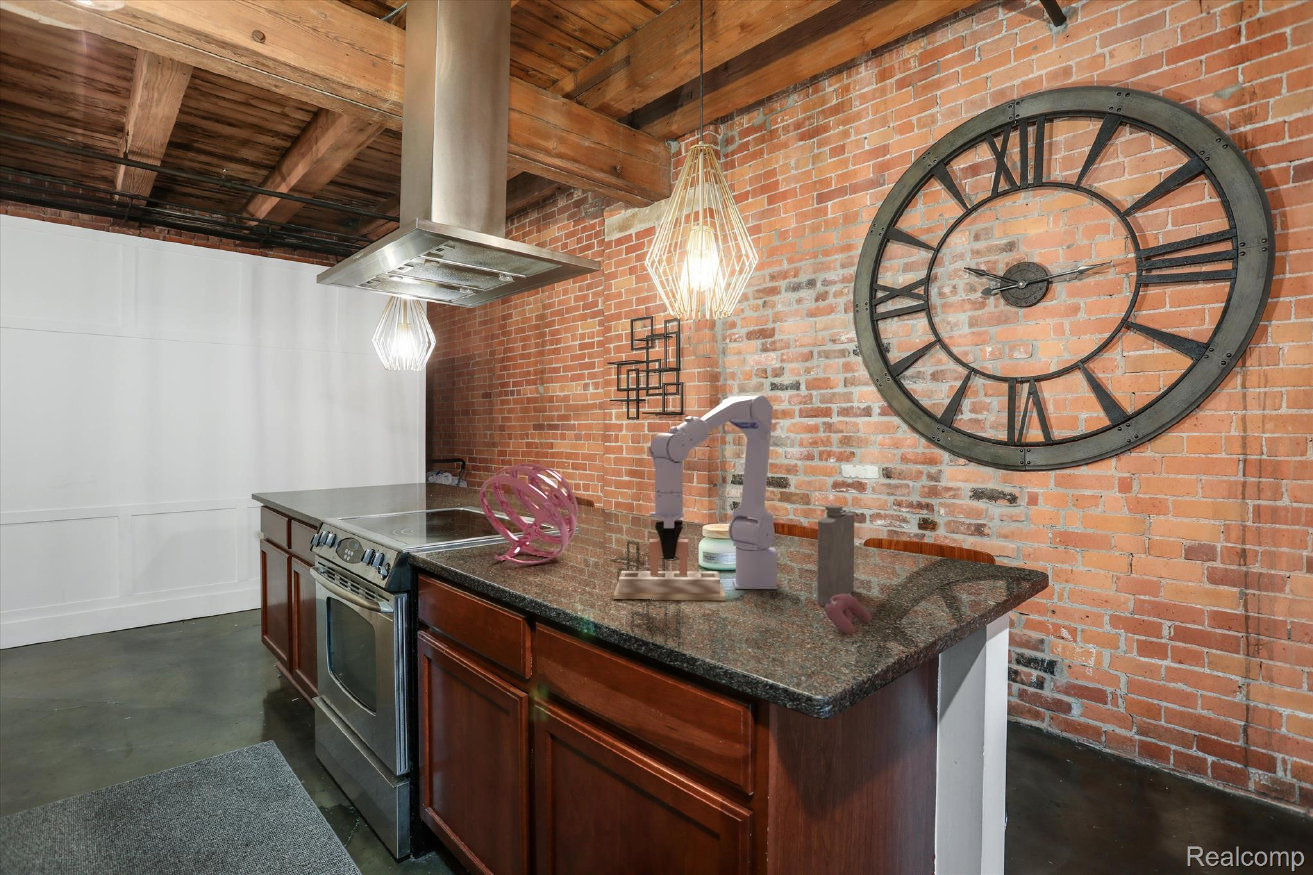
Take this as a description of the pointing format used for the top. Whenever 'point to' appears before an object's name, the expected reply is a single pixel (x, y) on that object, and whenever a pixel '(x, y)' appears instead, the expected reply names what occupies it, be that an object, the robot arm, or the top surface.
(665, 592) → the cream wooden flat frame
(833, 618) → the video game controller
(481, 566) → the top surface
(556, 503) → the spiral basket
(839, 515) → the hip flask
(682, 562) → the clip
